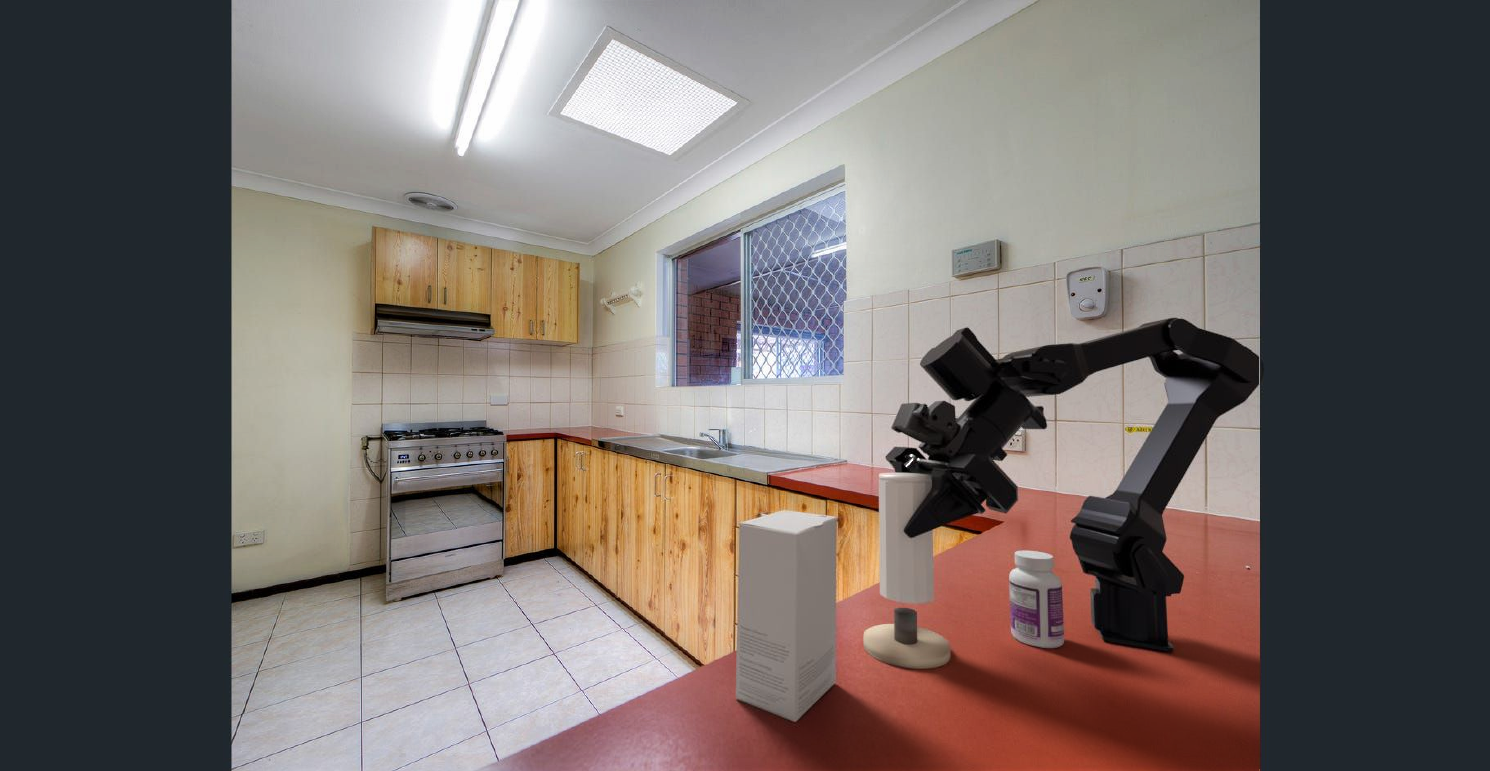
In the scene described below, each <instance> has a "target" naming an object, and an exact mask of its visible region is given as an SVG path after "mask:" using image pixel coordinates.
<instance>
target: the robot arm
mask: <svg viewBox="0 0 1490 771" xmlns="http://www.w3.org/2000/svg"><path fill="white" fill-rule="evenodd" d="M1176 351H1179V352H1181V353H1177V352H1176ZM1259 357H1260V356H1259V355H1258V354H1256V353H1255V352H1254V351H1252V349H1250V348H1248V347H1247V346H1245V345H1243V344H1242V343H1240V342H1239V341H1238V340H1236V339H1234V338H1232V337H1230V336H1226V335H1223V334H1219V333H1216V332H1213V331H1209V330H1207V329H1202V328H1200V327H1198V326H1196V325H1195V324H1193V323H1192V322H1190V321H1189V320H1187V319H1184V318H1178V317H1169V318H1164V319H1159V320H1155V321H1150V322H1145V323H1142V324H1141V325H1139V326H1137V327H1135V328H1132V329H1127V330H1124V331H1120V332H1116V333H1112V334H1110V335H1105V336H1101V337H1099V338H1096V339H1095V338H1094V339H1091V340H1088V341H1085V342H1084V341H1083V342H1080V343H1075V342H1074V343H1071V342H1070V343H1058V344H1056V343H1055V344H1047V345H1042V346H1037V347H1032V348H1027V349H1022V350H1019V351H1012V352H1010V353H1008V354H1006V355H1005V356H1004V357H1002V358H997V359H996V358H995V357H994V355H992V354H991V353H990V352H989V350H987V348H986V347H985V346H984V345H983V344H982V343H981V341H980V340H979V339H978V338H977V336H976V334H975V333H974V332H973V331H972V330H971V329H970V328H969V327H968V326H967V327H963V328H959V329H957V330H956V331H955V332H954V333H953V334H952V335H951V336H949V337H947V338H945V339H944V340H943V341H942V342H940V343H939V344H937V345H936V346H935V347H932V348H931V349H929V350H928V351H927V353H925V355H924V356H923V357H922V359H921V360H920V362H919V365H920V367H921V368H922V369H923V371H925V372H926V374H928V375H929V376H930V377H931V378H932V379H933V381H934V382H935V383H936V384H937V385H938V386H939V387H940V388H941V389H942V391H943V392H944V393H945V394H946V395H947V396H948V397H949V398H950V399H951V400H952V401H960V400H964V401H965V402H971V401H972V402H971V403H970V404H969V405H968V406H967V408H965V410H964V411H963V412H962V413H961V414H960V415H959V416H958V417H957V416H956V406H955V405H954V404H952V403H950V402H948V401H946V400H936V401H934V402H933V403H932V404H930V405H928V404H926V403H919V402H907V403H906V402H905V403H901V404H900V407H899V409H898V411H897V414H896V416H895V418H894V421H893V423H892V425H891V429H892V430H893V431H895V432H896V433H898V434H901V433H902V434H904V435H905V436H907V437H910V438H912V439H914V440H916V441H918V442H919V443H920V444H919V445H917V447H918V448H919V449H920V450H918V448H917V447H909V446H908V447H907V446H893V448H892V449H891V450H890V451H889V452H888V453H887V454H886V455H885V457H884V458H885V461H887V462H888V463H889V464H890V465H891V466H892V468H893V469H894V473H917V474H926V475H931V476H932V488H931V490H930V492H929V493H928V494H927V496H926V497H925V499H924V500H923V501H922V503H921V504H920V506H919V507H918V509H917V510H916V511H915V513H914V514H913V516H912V517H911V518H910V520H909V522H908V523H907V525H906V527H905V528H904V533H905V534H906V535H907V536H908V537H909V538H914V537H916V536H918V535H921V534H923V533H926V532H928V531H931V530H933V531H934V530H936V529H938V528H940V527H943V526H946V525H949V524H951V523H954V522H956V521H960V520H963V519H965V518H966V519H967V518H969V517H971V516H974V515H976V514H980V515H982V514H984V513H985V512H986V511H987V510H986V509H985V507H984V506H983V505H982V504H983V503H984V502H985V506H986V507H987V508H988V509H989V510H990V511H994V512H995V511H996V512H997V513H1002V514H1008V513H1009V511H1010V510H1011V509H1012V508H1013V507H1014V505H1016V503H1017V502H1018V501H1019V489H1018V488H1019V487H1018V485H1017V484H1016V483H1015V482H1014V481H1013V480H1012V479H1011V478H1010V477H1009V476H1008V475H1007V473H1006V472H1005V471H1004V470H1003V469H1002V468H1001V467H1000V466H999V465H998V464H997V463H996V461H998V462H999V461H1000V462H1003V461H1004V460H1005V458H1006V457H1007V456H1008V453H1006V451H1005V450H1004V447H1005V446H1006V445H1007V444H1008V442H1010V440H1011V439H1012V438H1013V437H1014V436H1015V435H1016V433H1017V432H1019V430H1020V429H1023V430H1046V429H1047V427H1048V423H1047V418H1046V417H1045V414H1044V409H1045V407H1044V406H1043V405H1042V406H1041V405H1034V404H1033V403H1032V402H1031V400H1029V397H1030V398H1033V397H1041V396H1042V397H1045V396H1054V395H1061V394H1064V393H1065V392H1067V391H1069V390H1071V389H1074V387H1076V386H1079V385H1080V384H1082V383H1084V381H1085V380H1086V379H1088V377H1090V376H1091V375H1094V374H1096V373H1097V372H1101V371H1103V370H1108V369H1111V368H1115V367H1118V366H1121V365H1125V364H1128V363H1132V362H1134V361H1139V360H1142V359H1146V358H1149V360H1150V362H1151V364H1152V367H1153V370H1154V371H1155V372H1156V373H1158V374H1159V375H1161V376H1162V377H1164V378H1165V380H1164V390H1165V393H1166V396H1167V404H1166V405H1165V407H1164V409H1163V410H1162V412H1161V413H1160V415H1159V417H1158V418H1157V420H1156V422H1155V423H1154V425H1153V427H1152V428H1151V430H1150V432H1149V433H1148V435H1147V437H1146V438H1145V441H1144V442H1143V444H1142V446H1141V447H1140V449H1139V451H1138V452H1137V454H1136V455H1135V457H1134V458H1133V461H1132V463H1131V464H1130V465H1129V467H1128V468H1127V470H1126V472H1125V474H1124V476H1123V477H1122V479H1121V481H1120V482H1119V484H1118V486H1117V487H1116V489H1115V491H1113V493H1110V495H1108V496H1106V497H1101V496H1094V495H1088V496H1087V498H1085V499H1084V500H1083V503H1082V506H1081V508H1080V510H1079V512H1078V513H1077V514H1076V516H1075V517H1073V518H1072V519H1070V523H1072V524H1074V525H1073V526H1072V529H1071V530H1070V535H1069V540H1070V541H1071V545H1072V549H1073V551H1074V553H1075V555H1076V557H1077V558H1078V561H1079V564H1080V566H1081V570H1082V572H1083V574H1085V575H1090V576H1093V577H1095V580H1094V581H1095V588H1094V587H1092V588H1090V590H1089V592H1090V594H1089V595H1090V596H1089V597H1090V618H1091V620H1090V621H1091V623H1092V626H1093V627H1094V629H1095V630H1097V632H1098V633H1099V635H1100V638H1101V639H1102V640H1103V641H1106V642H1110V643H1116V644H1123V645H1127V646H1128V645H1129V646H1134V647H1139V648H1147V649H1153V650H1159V651H1165V652H1172V653H1173V652H1174V650H1175V648H1174V646H1173V644H1172V643H1171V642H1170V641H1169V634H1168V633H1169V628H1168V610H1167V598H1168V597H1172V595H1176V594H1177V595H1178V594H1181V592H1182V587H1183V584H1184V579H1185V574H1184V573H1183V572H1182V571H1181V570H1180V569H1179V567H1177V566H1176V565H1175V564H1174V563H1173V562H1172V560H1171V559H1170V558H1169V557H1168V556H1167V555H1166V554H1165V553H1164V552H1163V551H1164V547H1165V546H1166V542H1167V539H1168V538H1167V533H1166V529H1165V523H1164V520H1163V514H1164V512H1165V510H1166V508H1167V506H1168V505H1169V503H1170V501H1171V499H1172V498H1173V495H1175V492H1176V491H1177V489H1178V487H1179V485H1180V483H1181V482H1182V480H1183V478H1184V477H1185V475H1186V473H1187V472H1188V469H1189V468H1190V467H1191V464H1192V463H1193V461H1194V459H1195V458H1196V455H1198V452H1199V451H1200V449H1201V448H1202V445H1203V443H1204V441H1205V440H1206V439H1207V437H1208V436H1209V435H1208V434H1210V431H1211V430H1212V428H1213V426H1214V425H1215V423H1216V421H1217V420H1218V419H1219V418H1220V417H1221V416H1222V415H1225V414H1226V413H1228V412H1230V411H1232V410H1233V409H1235V408H1236V407H1238V406H1240V405H1242V404H1243V403H1245V402H1246V401H1247V400H1248V399H1249V397H1250V396H1251V395H1252V394H1253V393H1254V392H1255V390H1256V389H1257V388H1258V387H1259V385H1260V384H1261V382H1262V380H1263V377H1264V372H1265V366H1264V364H1265V363H1264V362H1263V360H1262V359H1261V379H1260V384H1259ZM921 451H922V453H921ZM923 454H926V455H927V456H928V457H927V458H926V457H925V456H924V455H923Z"/></svg>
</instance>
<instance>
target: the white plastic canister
mask: <svg viewBox="0 0 1490 771" xmlns="http://www.w3.org/2000/svg"><path fill="white" fill-rule="evenodd" d="M931 488H932V476H931V475H926V474H917V473H895V472H882V473H878V520H879V521H878V523H879V524H878V529H879V530H878V531H879V532H878V534H879V536H878V537H879V539H878V541H879V543H878V546H879V547H878V548H879V553H878V555H879V556H878V558H879V595H880V596H882V597H883V598H885V599H888V600H890V601H894V602H897V603H902V604H912V605H915V604H916V605H917V604H927V603H930V602H932V601H934V600H935V587H934V585H935V577H934V576H935V575H934V571H935V570H934V529H933V530H931V531H928V532H926V533H923V534H921V535H918V536H916V537H914V538H909V537H908V536H907V535H906V534H905V533H904V528H905V527H906V525H907V523H908V522H909V520H910V518H911V517H912V516H913V514H914V513H915V511H916V510H917V509H918V507H919V506H920V504H921V503H922V501H923V500H924V499H925V497H926V496H927V494H928V493H929V492H930V490H931Z"/></svg>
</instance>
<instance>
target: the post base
mask: <svg viewBox="0 0 1490 771" xmlns="http://www.w3.org/2000/svg"><path fill="white" fill-rule="evenodd" d="M893 615H894V617H893V622H894V623H885V624H877V625H874V626H870V627H869V628H867V629H866V630H865V631H864V632H863V648H864V650H865V652H866V653H867V654H868V655H870V656H871V657H873V658H874V659H876V660H879V661H881V662H883V663H886V664H889V665H893V666H895V667H896V666H897V667H900V668H905V669H916V670H918V669H919V670H920V669H921V670H925V669H926V670H927V669H928V670H929V669H935V668H939V667H942V666H945V665H946V664H948V663H949V661H950V660H951V644H950V642H949V641H948V640H947V639H946V638H945V637H944V636H942V635H941V634H938V633H937V632H934V631H932V630H929V629H927V628H924V627H921V626H918V612H917V611H916V610H915V609H912V608H909V607H896V608H894V610H893Z"/></svg>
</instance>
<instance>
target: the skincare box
mask: <svg viewBox="0 0 1490 771" xmlns="http://www.w3.org/2000/svg"><path fill="white" fill-rule="evenodd" d="M837 528H838V517H837V516H833V515H825V514H819V513H818V514H817V513H809V512H803V511H802V512H801V511H794V510H787V509H783V510H778V511H776V512H772V513H770V514H767V515H763V516H759V517H755V518H752V519H748V520H744V521H741V522H738V559H737V560H738V566H737V569H738V570H737V571H738V572H737V573H738V574H737V613H736V614H737V617H736V618H737V619H736V620H737V622H736V663H735V664H736V666H735V672H736V673H735V699H736V700H738V701H740V702H744V703H746V704H749V705H751V706H753V707H756V708H757V709H761V710H764V711H765V712H768V713H771V714H774V715H776V716H779V717H782V718H783V719H786V720H789V721H791V722H794V723H796V722H798V720H799V719H800V718H801V717H803V715H804V714H805V713H806V712H807V711H808V710H809V709H811V708H812V707H813V705H814V704H816V702H817V701H819V700H820V699H821V697H822V696H824V695H825V693H827V692H828V691H829V690H830V689H831V688H832V687H833V686H834V685H835V684H836V682H837V679H836V678H837V675H836V674H837V672H836V670H837V669H836V668H837V666H836V664H837V661H836V660H837V654H836V653H837V650H836V649H837V636H836V635H837V547H838V546H837V545H838V544H837V543H838V542H837V540H838V536H837V535H838V529H837Z"/></svg>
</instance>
